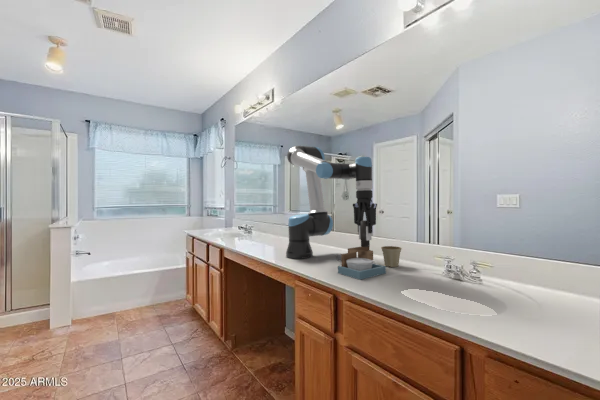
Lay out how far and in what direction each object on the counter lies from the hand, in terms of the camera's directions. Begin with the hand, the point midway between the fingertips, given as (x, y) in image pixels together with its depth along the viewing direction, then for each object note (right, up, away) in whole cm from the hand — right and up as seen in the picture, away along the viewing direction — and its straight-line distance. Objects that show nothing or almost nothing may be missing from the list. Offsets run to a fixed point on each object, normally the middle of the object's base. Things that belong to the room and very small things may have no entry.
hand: (365, 239), depth 137 cm
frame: (-4, -13, -12) cm, 18 cm away
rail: (-5, -13, +8) cm, 16 cm away
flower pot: (+12, -13, 0) cm, 18 cm away
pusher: (-5, -12, -3) cm, 14 cm away
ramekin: (-5, -13, -11) cm, 18 cm away
